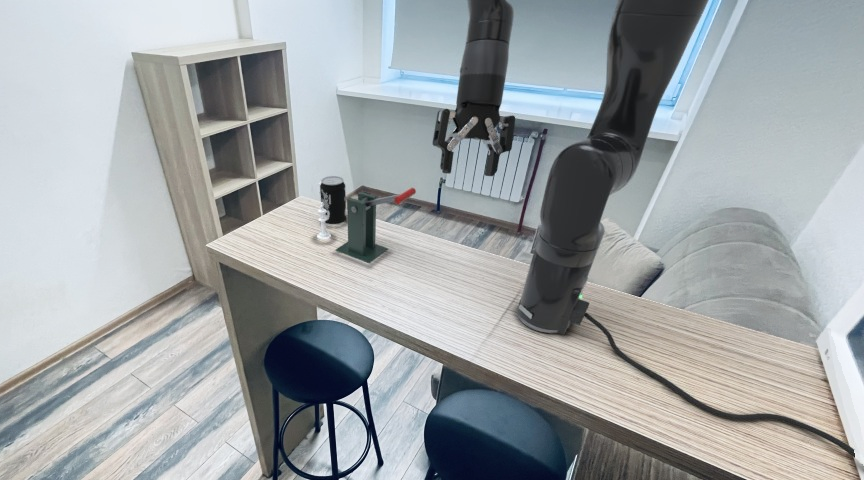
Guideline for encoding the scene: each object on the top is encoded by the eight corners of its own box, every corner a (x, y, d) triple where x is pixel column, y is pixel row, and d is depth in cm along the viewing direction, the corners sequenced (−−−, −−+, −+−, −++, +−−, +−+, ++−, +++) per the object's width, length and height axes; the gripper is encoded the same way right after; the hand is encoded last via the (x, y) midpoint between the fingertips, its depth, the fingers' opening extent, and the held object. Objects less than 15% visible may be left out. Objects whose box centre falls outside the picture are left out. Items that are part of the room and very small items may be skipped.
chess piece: (311, 242, 103) (308, 205, 97) (318, 233, 106) (315, 197, 101) (329, 245, 101) (327, 207, 96) (336, 235, 105) (334, 199, 99)
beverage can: (345, 227, 109) (344, 184, 102) (321, 227, 109) (318, 184, 102) (346, 216, 114) (345, 175, 107) (323, 217, 114) (320, 175, 107)
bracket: (388, 252, 98) (390, 196, 90) (369, 267, 93) (369, 209, 84) (355, 240, 103) (354, 186, 95) (335, 254, 98) (332, 198, 90)
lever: (417, 196, 84) (414, 184, 83) (402, 205, 80) (398, 194, 79) (366, 206, 94) (363, 196, 93) (350, 215, 90) (347, 205, 89)
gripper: (453, 66, 64) (440, 173, 69) (533, 76, 67) (514, 178, 72) (434, 74, 71) (423, 171, 76) (507, 83, 74) (492, 175, 79)
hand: (468, 174), depth 74 cm, fingers open, 8 cm apart
